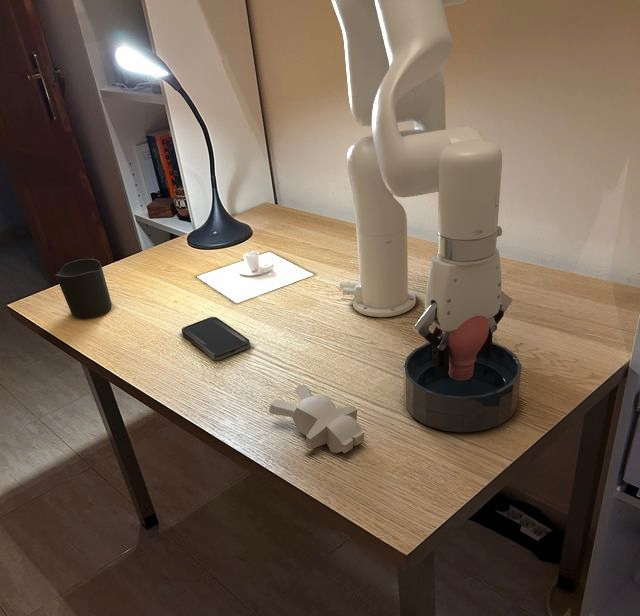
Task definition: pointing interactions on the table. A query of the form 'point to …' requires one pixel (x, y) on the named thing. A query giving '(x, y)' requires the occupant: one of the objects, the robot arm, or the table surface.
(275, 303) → the table surface
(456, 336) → the light bulb
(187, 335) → the phone
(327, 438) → the bunny figurine
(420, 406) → the dark grey round tub
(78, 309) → the dark grey spouted beaker
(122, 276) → the table surface
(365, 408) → the table surface
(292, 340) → the table surface
